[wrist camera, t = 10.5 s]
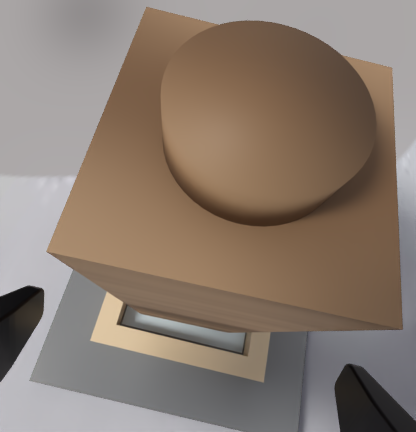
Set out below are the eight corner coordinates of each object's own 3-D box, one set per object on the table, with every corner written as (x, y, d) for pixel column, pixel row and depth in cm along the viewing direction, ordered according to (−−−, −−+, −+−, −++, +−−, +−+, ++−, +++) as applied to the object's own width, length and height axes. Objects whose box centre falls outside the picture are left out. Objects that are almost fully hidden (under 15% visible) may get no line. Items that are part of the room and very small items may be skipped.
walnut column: (228, 332, 17) (467, 328, 3) (141, 314, 17) (10, 227, 3) (241, 248, 19) (431, 20, 5) (163, 230, 19) (142, -54, 5)
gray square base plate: (291, 439, 17) (306, 452, 15) (35, 378, 16) (18, 384, 14) (314, 207, 22) (327, 195, 20) (121, 158, 21) (117, 141, 20)
